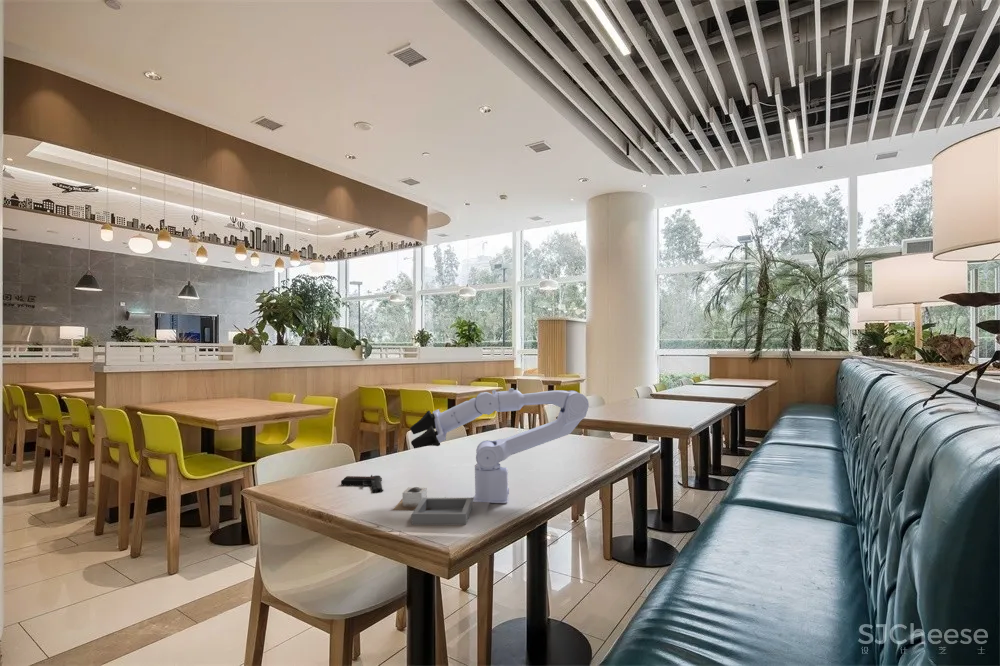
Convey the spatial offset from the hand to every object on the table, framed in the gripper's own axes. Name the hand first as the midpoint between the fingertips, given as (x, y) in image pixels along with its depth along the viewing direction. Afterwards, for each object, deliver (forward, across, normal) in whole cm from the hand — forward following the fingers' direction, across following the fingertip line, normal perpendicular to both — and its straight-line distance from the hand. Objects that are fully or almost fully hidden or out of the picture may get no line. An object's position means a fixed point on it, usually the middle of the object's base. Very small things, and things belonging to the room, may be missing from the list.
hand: (412, 437), depth 138 cm
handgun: (+24, -11, +15) cm, 30 cm away
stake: (+6, +10, +14) cm, 18 cm away
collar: (+6, +10, +13) cm, 18 cm away
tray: (-2, +21, +13) cm, 24 cm away
